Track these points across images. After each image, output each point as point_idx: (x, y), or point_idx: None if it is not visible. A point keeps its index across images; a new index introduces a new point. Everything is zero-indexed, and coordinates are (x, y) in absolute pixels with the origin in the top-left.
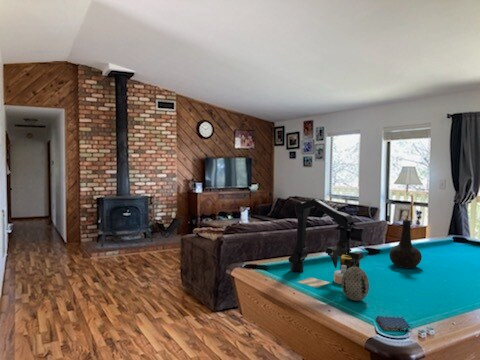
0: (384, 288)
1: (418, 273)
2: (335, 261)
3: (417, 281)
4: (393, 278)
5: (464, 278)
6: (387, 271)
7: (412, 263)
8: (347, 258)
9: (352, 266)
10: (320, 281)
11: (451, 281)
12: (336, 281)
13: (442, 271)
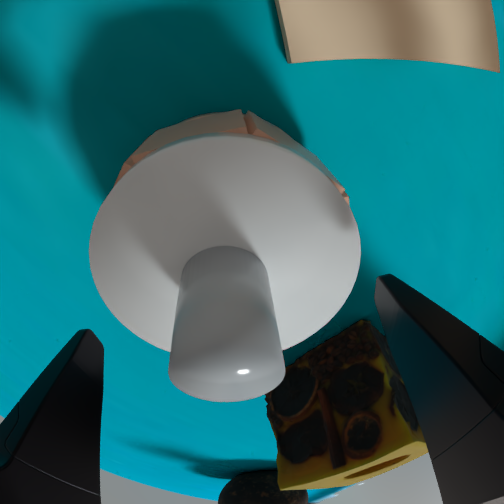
0: (43, 343)
1: (190, 469)
2: (434, 376)
3: (119, 443)
4: (174, 435)
5: (122, 473)
6: (254, 452)
7: (224, 490)
8: (365, 464)
9: (29, 393)
10: (379, 8)
11: (105, 460)
12: (230, 112)
13: (181, 481)
